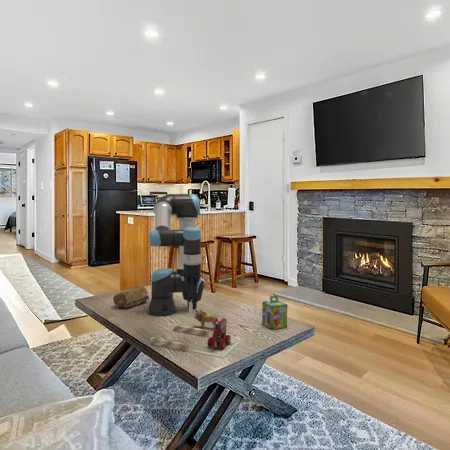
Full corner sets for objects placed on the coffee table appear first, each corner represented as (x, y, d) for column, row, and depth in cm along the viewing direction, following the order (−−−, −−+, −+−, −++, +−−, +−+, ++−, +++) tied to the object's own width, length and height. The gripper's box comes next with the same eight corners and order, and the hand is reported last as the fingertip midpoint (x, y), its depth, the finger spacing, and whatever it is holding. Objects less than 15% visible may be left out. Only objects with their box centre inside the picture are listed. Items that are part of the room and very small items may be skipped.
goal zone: (192, 351, 146) (192, 351, 146) (211, 337, 161) (211, 337, 161) (223, 358, 140) (223, 357, 140) (240, 342, 155) (240, 342, 155)
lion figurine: (191, 328, 172) (191, 310, 171) (195, 324, 177) (195, 307, 176) (221, 331, 168) (221, 312, 168) (224, 327, 173) (224, 309, 173)
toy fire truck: (205, 350, 148) (205, 325, 147) (217, 339, 159) (217, 316, 159) (220, 352, 145) (220, 327, 144) (232, 341, 157) (232, 318, 156)
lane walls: (150, 344, 154) (150, 338, 153) (175, 329, 171) (175, 324, 171) (186, 351, 146) (186, 345, 146) (208, 335, 163) (208, 330, 163)
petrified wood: (128, 310, 199) (125, 292, 199) (111, 312, 204) (107, 294, 204) (150, 300, 216) (147, 284, 216) (134, 302, 222) (131, 286, 222)
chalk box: (272, 330, 170) (272, 299, 169) (261, 324, 178) (261, 295, 177) (287, 327, 174) (288, 297, 173) (276, 321, 182) (277, 292, 181)
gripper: (174, 263, 154) (174, 316, 157) (201, 266, 149) (201, 321, 152) (183, 260, 161) (183, 311, 164) (209, 263, 156) (209, 315, 158)
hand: (192, 315), depth 158 cm, fingers closed
